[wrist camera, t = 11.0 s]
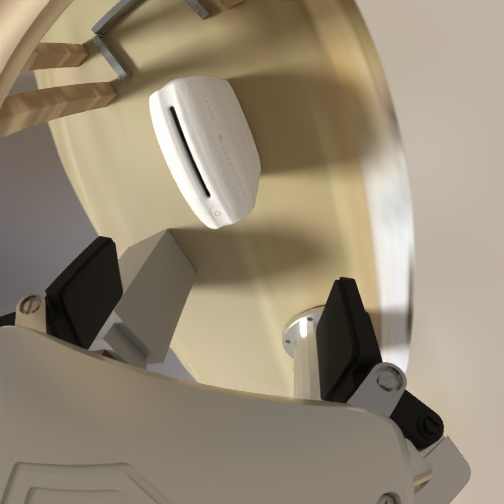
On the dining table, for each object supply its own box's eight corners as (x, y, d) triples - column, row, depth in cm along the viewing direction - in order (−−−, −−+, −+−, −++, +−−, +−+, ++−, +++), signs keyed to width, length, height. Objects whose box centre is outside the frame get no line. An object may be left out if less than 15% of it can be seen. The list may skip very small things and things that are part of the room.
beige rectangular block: (128, 247, 32) (51, 358, 17) (167, 228, 30) (89, 354, 15) (156, 286, 36) (102, 401, 20) (196, 273, 34) (148, 404, 18)
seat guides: (210, 15, 18) (206, 10, 16) (126, 80, 21) (119, 80, 20) (169, -28, 14) (164, -33, 13) (93, 36, 18) (85, 35, 17)
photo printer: (267, 171, 26) (260, 231, 16) (226, 184, 27) (194, 249, 17) (230, 74, 21) (191, 58, 11) (188, 91, 22) (122, 95, 12)
